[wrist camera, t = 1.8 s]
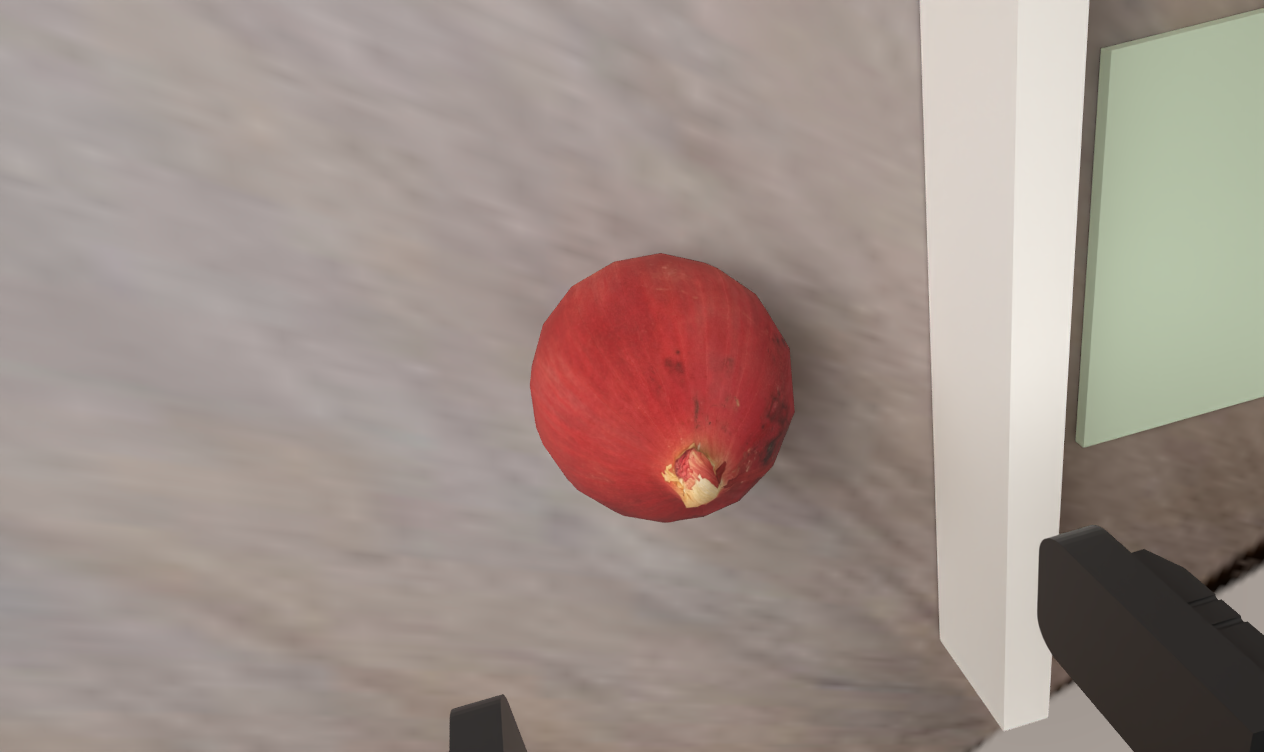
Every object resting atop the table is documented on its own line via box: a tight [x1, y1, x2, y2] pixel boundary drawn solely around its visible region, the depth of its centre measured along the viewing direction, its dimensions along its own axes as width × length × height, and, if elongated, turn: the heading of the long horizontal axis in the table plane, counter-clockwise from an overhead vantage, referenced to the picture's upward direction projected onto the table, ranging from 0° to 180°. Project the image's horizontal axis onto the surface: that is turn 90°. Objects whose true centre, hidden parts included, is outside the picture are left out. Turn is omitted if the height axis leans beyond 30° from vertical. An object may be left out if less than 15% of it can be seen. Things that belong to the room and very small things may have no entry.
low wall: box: [920, 0, 1089, 731], centre depth 22 cm, size 26×2×4 cm, turn 11°
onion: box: [530, 253, 795, 523], centre depth 19 cm, size 6×6×8 cm
